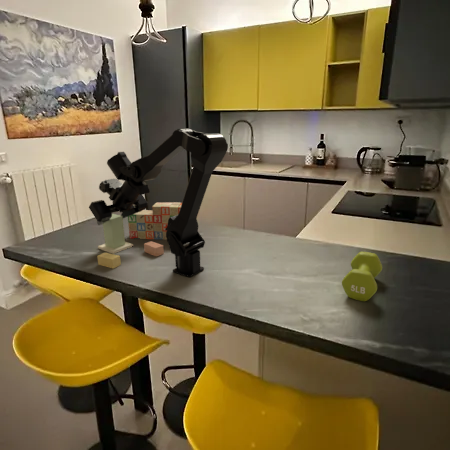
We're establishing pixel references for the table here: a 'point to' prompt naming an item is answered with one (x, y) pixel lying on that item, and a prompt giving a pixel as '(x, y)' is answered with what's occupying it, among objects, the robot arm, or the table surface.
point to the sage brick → (114, 232)
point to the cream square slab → (112, 250)
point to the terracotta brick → (153, 248)
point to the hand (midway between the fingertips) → (110, 220)
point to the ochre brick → (109, 260)
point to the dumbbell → (362, 276)
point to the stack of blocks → (152, 221)
